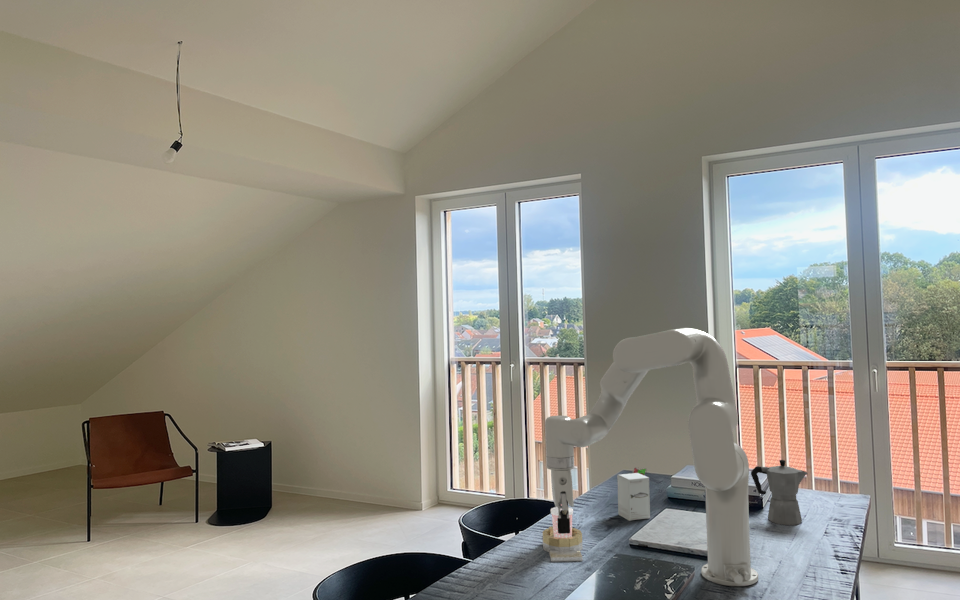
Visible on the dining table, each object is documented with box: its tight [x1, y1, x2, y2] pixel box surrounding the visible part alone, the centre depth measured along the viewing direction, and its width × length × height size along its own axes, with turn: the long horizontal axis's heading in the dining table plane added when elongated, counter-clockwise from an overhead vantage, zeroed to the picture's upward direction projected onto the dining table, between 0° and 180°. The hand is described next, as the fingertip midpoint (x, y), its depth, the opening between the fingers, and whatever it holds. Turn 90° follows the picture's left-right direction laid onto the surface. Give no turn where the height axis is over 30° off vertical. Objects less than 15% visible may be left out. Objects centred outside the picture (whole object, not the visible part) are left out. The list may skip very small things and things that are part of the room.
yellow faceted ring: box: [542, 525, 583, 547], centre depth 181 cm, size 15×10×4 cm
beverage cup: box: [550, 494, 574, 538], centre depth 178 cm, size 6×6×14 cm
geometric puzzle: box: [630, 467, 651, 480], centre depth 240 cm, size 7×7×8 cm
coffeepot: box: [750, 459, 808, 526], centre depth 197 cm, size 15×9×18 cm, turn 67°
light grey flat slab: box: [542, 536, 584, 563], centre depth 176 cm, size 15×10×2 cm
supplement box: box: [616, 473, 651, 522], centre depth 204 cm, size 7×7×13 cm
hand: (562, 528), depth 178 cm, fingers closed on beverage cup, 6 cm apart
